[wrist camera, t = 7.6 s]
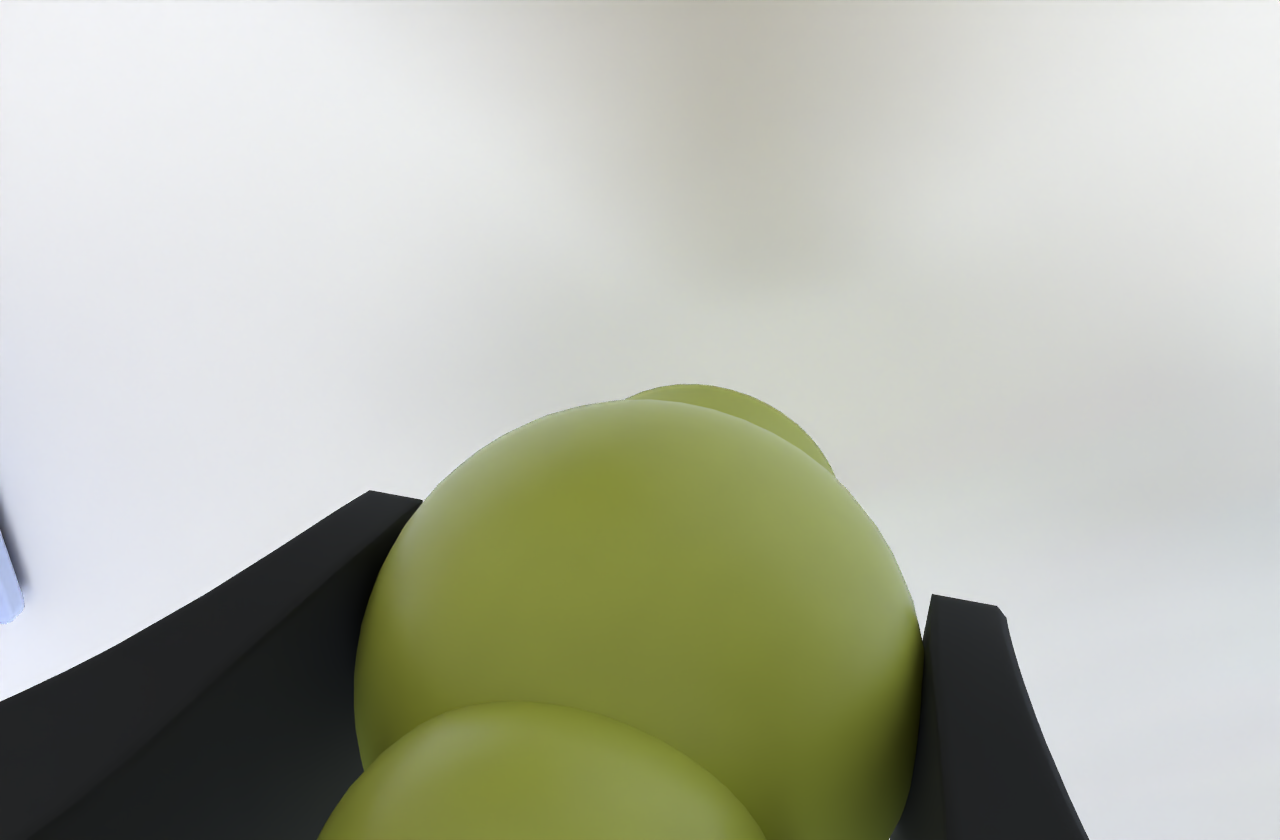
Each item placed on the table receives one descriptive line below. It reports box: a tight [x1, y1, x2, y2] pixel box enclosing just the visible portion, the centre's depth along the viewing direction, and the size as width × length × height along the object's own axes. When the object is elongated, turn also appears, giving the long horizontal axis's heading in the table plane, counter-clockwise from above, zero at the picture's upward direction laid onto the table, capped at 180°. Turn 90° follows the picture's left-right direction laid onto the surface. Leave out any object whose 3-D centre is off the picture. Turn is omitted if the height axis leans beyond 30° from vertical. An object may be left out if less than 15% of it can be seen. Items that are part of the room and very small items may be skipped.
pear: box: [317, 384, 924, 840], centre depth 10 cm, size 5×5×9 cm
